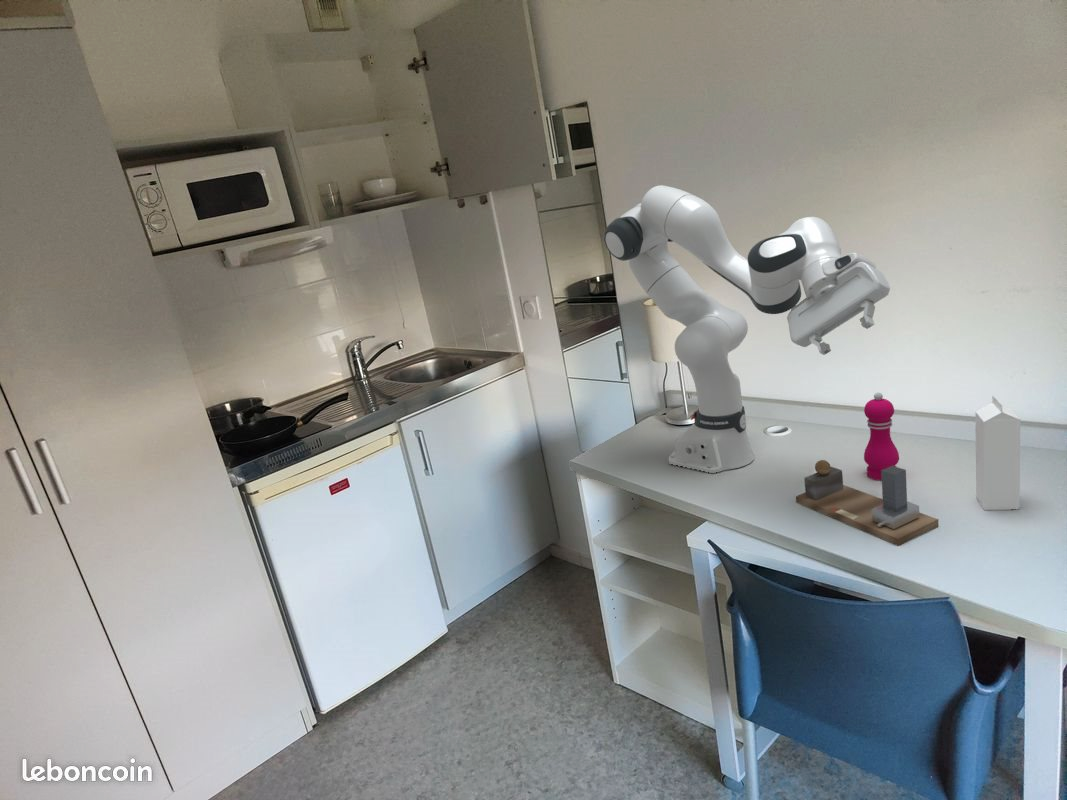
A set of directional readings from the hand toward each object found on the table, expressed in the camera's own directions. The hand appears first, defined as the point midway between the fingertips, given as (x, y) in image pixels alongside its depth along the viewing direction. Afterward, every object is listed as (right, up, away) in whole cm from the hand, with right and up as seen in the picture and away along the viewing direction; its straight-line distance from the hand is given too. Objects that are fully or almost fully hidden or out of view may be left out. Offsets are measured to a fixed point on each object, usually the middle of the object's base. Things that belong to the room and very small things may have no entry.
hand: (846, 339), depth 129 cm
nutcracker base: (+10, -35, +15) cm, 39 cm away
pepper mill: (+22, -29, +29) cm, 46 cm away
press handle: (+12, -35, +7) cm, 38 cm away
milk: (+34, -32, +9) cm, 48 cm away
